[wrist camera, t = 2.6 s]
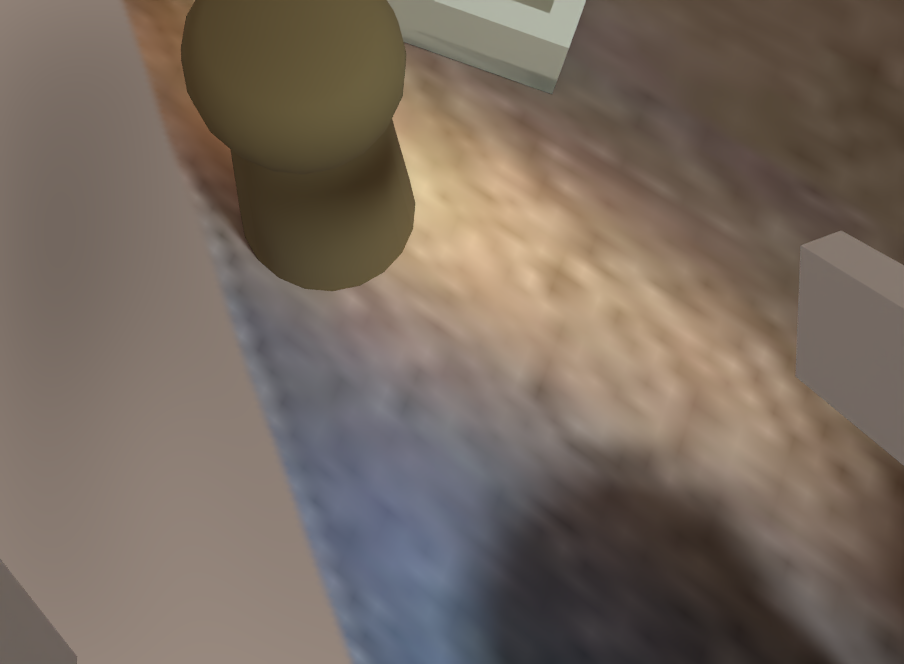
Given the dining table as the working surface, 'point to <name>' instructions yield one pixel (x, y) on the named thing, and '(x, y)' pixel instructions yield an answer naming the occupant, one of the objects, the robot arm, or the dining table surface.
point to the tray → (495, 34)
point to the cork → (307, 130)
